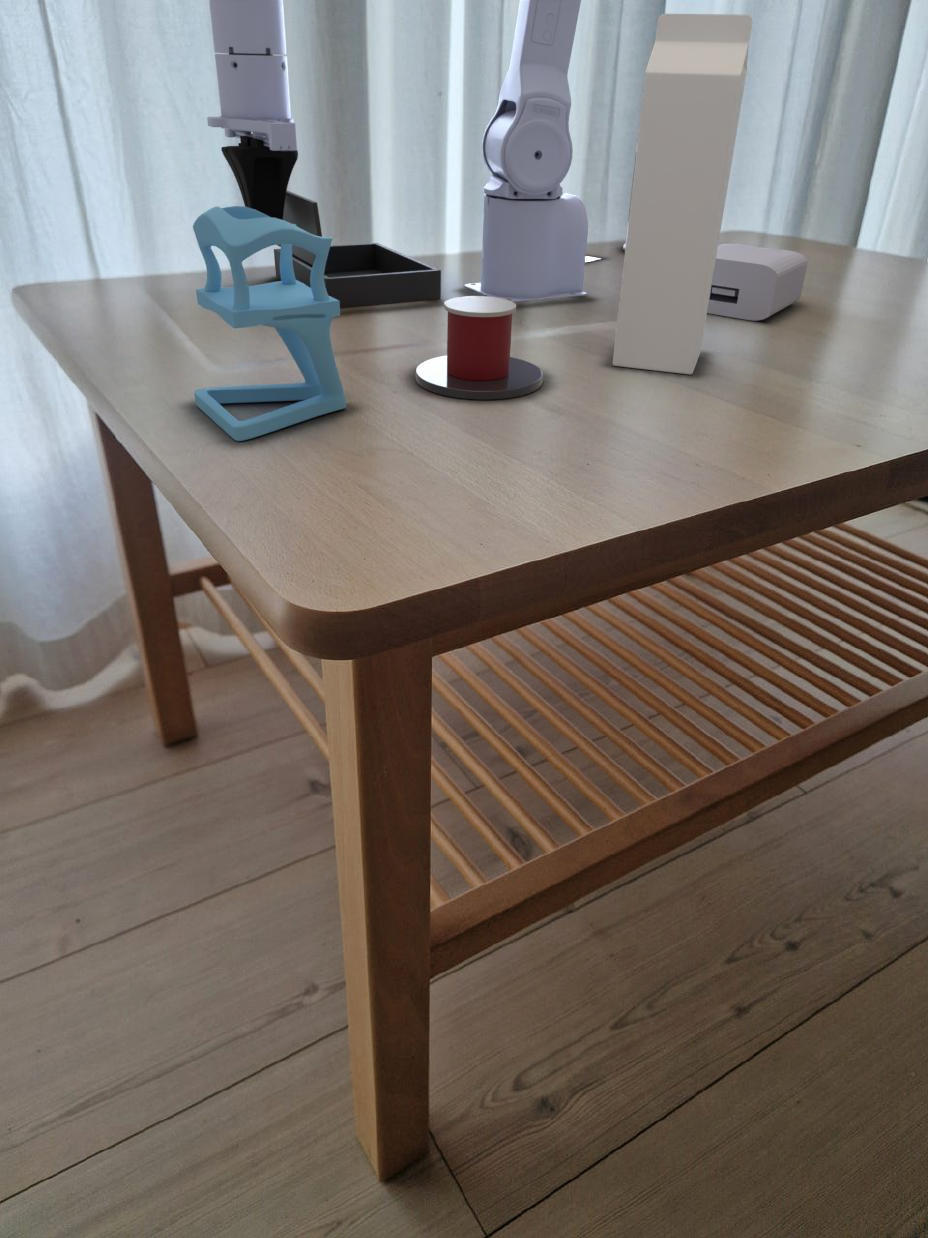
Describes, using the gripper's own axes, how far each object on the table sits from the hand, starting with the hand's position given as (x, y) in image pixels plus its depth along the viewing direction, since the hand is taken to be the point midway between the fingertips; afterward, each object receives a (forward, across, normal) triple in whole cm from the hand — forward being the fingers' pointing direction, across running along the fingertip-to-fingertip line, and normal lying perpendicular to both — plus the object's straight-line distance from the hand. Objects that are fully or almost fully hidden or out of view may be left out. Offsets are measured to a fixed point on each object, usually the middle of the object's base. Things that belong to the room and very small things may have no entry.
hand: (266, 235), depth 79 cm
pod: (+5, +29, +6) cm, 30 cm away
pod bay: (+6, 0, +8) cm, 10 cm away
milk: (+6, +30, +21) cm, 37 cm away
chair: (+6, +30, -9) cm, 32 cm away
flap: (-1, 0, +3) cm, 3 cm away
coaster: (+6, +29, +6) cm, 30 cm away
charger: (+6, +17, +42) cm, 46 cm away
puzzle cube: (+6, -8, +36) cm, 38 cm away
